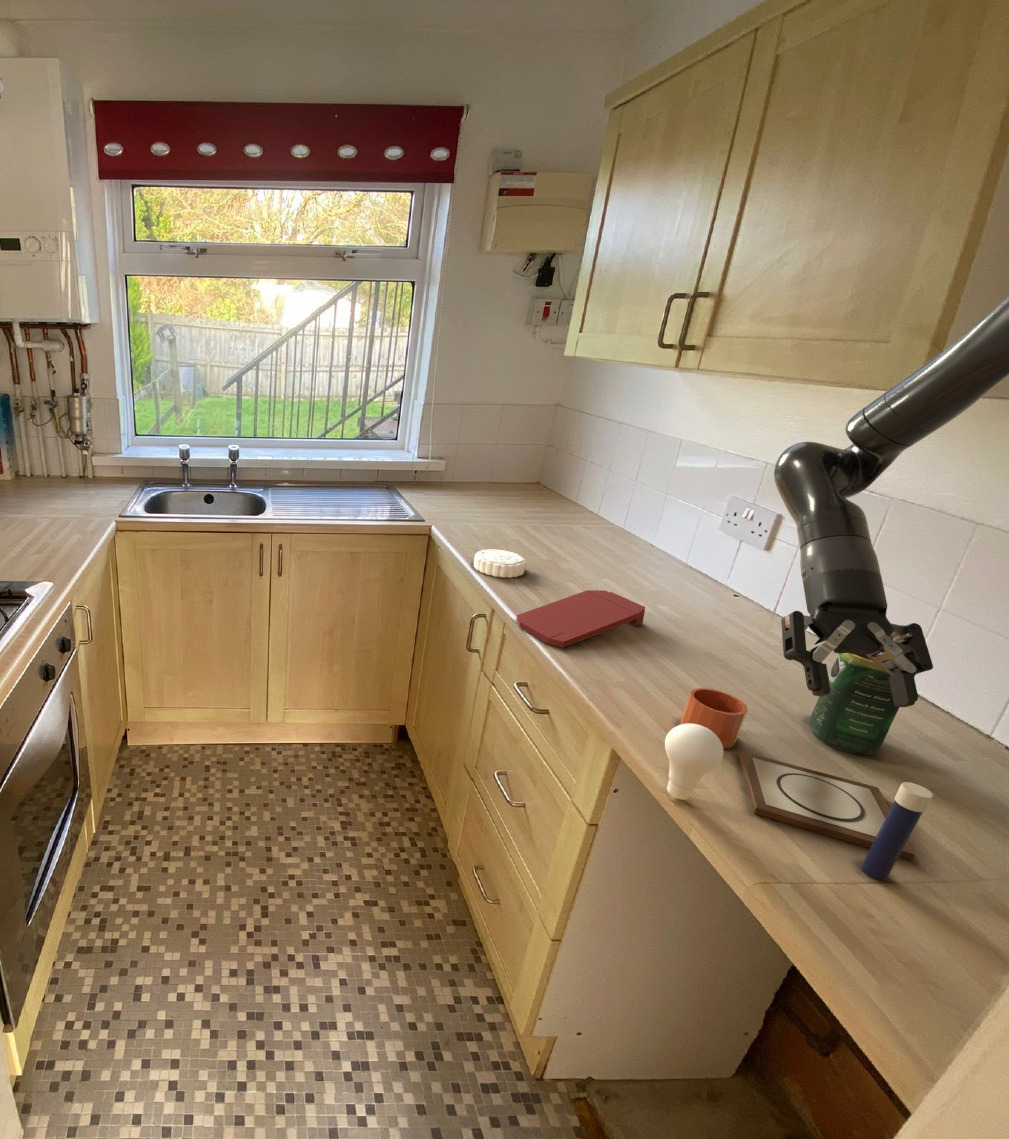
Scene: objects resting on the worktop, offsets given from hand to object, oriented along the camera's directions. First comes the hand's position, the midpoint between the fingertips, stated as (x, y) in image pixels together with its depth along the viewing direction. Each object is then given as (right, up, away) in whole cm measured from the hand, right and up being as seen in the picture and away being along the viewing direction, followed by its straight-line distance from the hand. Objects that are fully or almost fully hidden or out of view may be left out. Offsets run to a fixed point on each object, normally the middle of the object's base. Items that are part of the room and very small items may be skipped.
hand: (863, 700), depth 76 cm
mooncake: (-12, +16, +82) cm, 84 cm away
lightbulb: (-18, -14, +7) cm, 24 cm away
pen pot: (-5, -9, +19) cm, 22 cm away
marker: (-3, -19, -4) cm, 20 cm away
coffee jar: (+16, -10, +19) cm, 27 cm away
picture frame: (0, -15, +6) cm, 16 cm away
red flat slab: (-6, +4, +53) cm, 53 cm away
